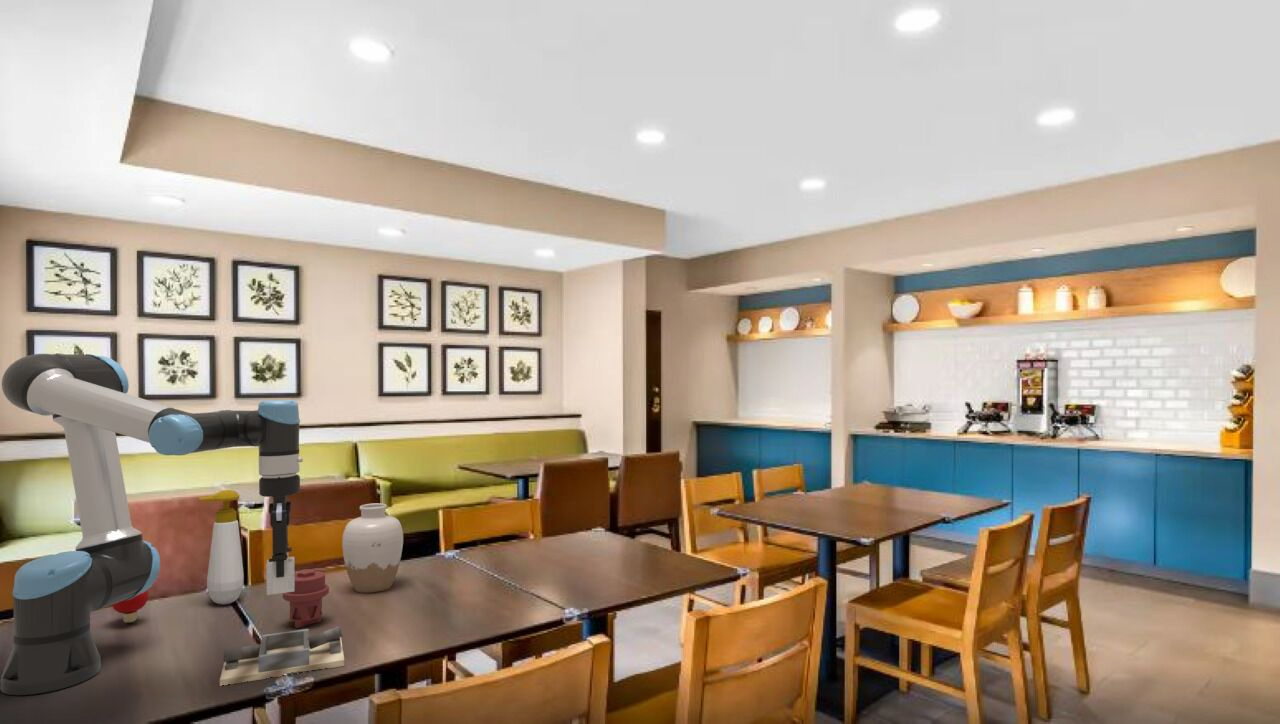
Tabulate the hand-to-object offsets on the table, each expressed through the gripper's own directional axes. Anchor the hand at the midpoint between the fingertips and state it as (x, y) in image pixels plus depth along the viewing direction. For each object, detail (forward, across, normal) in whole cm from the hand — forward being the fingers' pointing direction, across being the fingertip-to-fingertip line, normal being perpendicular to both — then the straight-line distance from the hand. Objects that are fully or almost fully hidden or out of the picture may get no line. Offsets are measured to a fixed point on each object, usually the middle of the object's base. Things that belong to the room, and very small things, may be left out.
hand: (281, 588), depth 147 cm
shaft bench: (+15, +1, 0) cm, 15 cm away
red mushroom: (+15, +42, +34) cm, 56 cm away
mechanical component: (+15, +25, -4) cm, 29 cm away
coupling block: (0, 0, 0) cm, 0 cm away
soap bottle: (+15, +51, +16) cm, 56 cm away
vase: (+15, +48, -21) cm, 54 cm away
